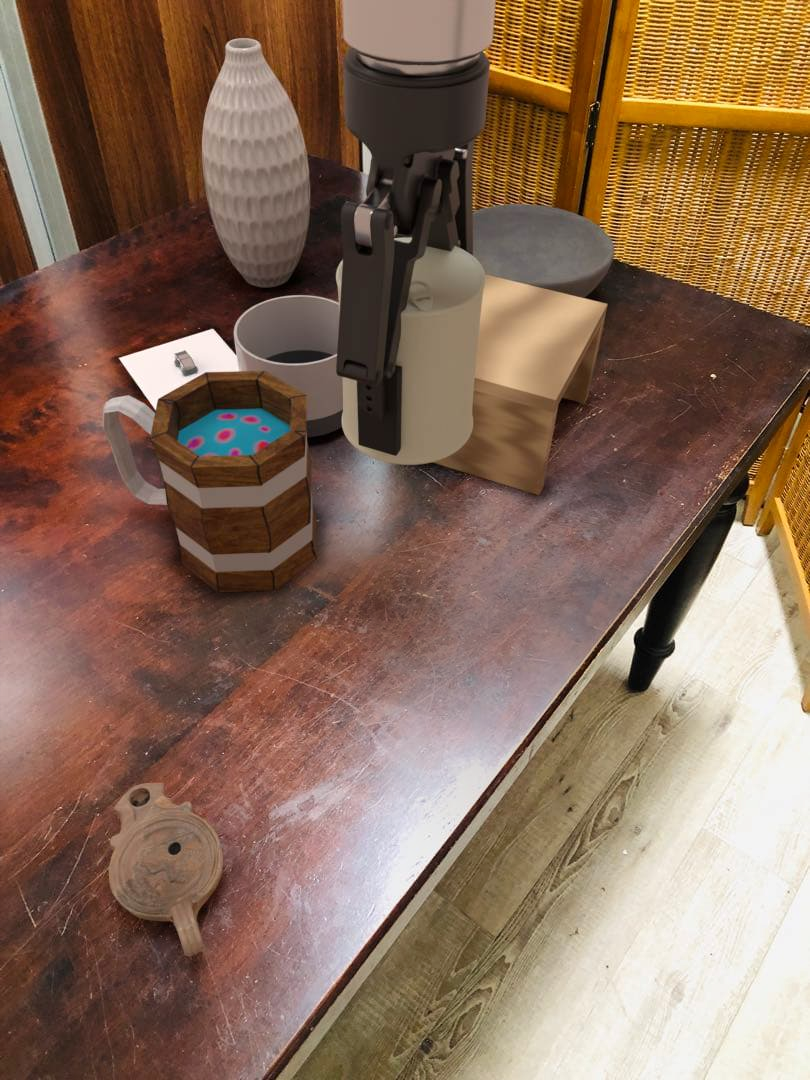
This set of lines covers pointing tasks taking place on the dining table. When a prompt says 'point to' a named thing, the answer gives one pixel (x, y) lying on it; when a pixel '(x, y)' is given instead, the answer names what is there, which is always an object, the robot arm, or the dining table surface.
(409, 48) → the robot arm
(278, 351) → the planter
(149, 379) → the white paper sheet
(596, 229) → the bowl
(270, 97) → the vase
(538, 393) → the shelf
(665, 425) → the dining table surface
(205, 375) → the mug
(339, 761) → the dining table surface
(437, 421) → the can
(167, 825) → the oil lamp
